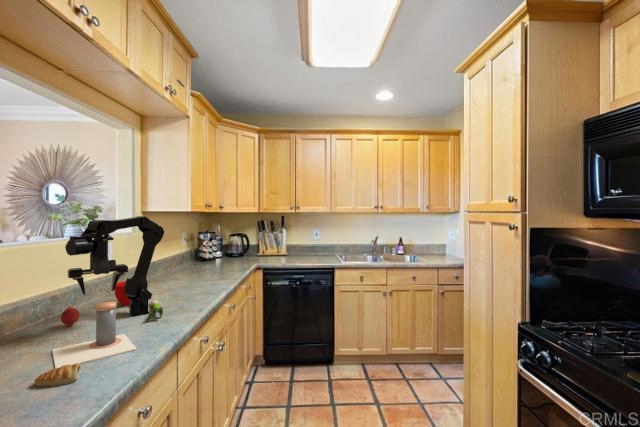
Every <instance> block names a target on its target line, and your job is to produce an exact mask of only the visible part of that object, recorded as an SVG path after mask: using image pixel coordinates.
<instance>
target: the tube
mask: <svg viewBox="0 0 640 427" xmlns="http://www.w3.org/2000/svg"><path fill="white" fill-rule="evenodd" d="M117 302H118V301H117ZM117 302H116V301H103V302H100V303H96V304H95V319H96V320H95V340H96V345H97V346H107V345H110V344H113V343H115V342H116V336H117V332H116V330H117V307H118V306H117V304H118V303H117Z"/></svg>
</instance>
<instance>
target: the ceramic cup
mask: <svg viewBox="0 0 640 427" xmlns="http://www.w3.org/2000/svg"><path fill="white" fill-rule="evenodd" d="M125 284H126V280H125V281H121V282H117V284H116V286H115V289H114V291H113V292H114V296H115V298H116V300H117V302H118V303H119V304H120V305H122V306H124V307H129V304H130V303H131V300H130V299H128V298H127V295H126V294H125V293H124V289H125V288H124V286H125Z"/></svg>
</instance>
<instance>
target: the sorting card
mask: <svg viewBox="0 0 640 427" xmlns="http://www.w3.org/2000/svg"><path fill="white" fill-rule="evenodd" d="M133 351H137V347H136V346H135V345H134V344H133V342H132V341H131V339H130V338H128V336H127V335H126V334H125V333H123V334H118V335H117V334H116V342H115V343H113V344H110V345H107V346H97V345H96V339H94V340H89V341H86V342H81V343H80V342H79V343H77V344H76V343H75V344H71V345H67V346H61V347H57V348H54V349H51V353H52V357H53V363H54V369H55V368H60V367H61V366H63V365H72V364H76V363H80V365H81V364H82V365H83V364H86V363H90V362H95V361H98V360H101V359H105V358H110V357H113V356H117V355H122V354H127V353H129V352H133Z"/></svg>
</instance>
